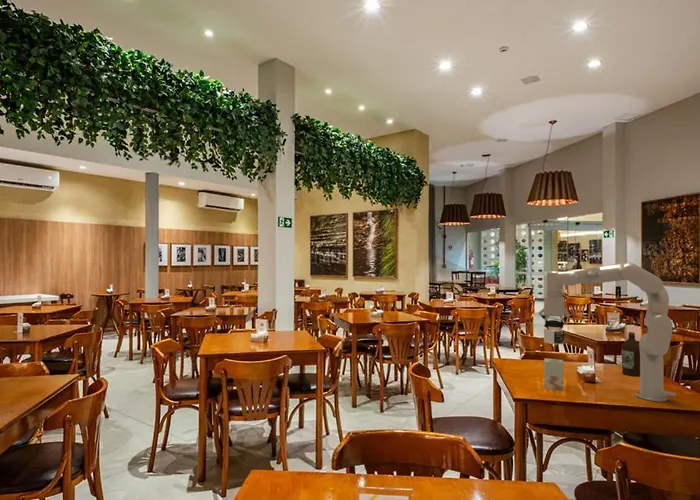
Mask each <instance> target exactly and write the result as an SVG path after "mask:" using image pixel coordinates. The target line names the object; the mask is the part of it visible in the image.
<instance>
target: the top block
mask: <svg viewBox="0 0 700 500" xmlns="http://www.w3.org/2000/svg"><path fill="white" fill-rule="evenodd" d="M543 359H544V360H543V362H544V365H543V371H544V372H543V375H544V374H545V375H548V376H557V377H564V376H565V373H564V371H565V369H564V367H565V363H564V360H563V359H557V358H556V359H555V358H543Z"/></svg>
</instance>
